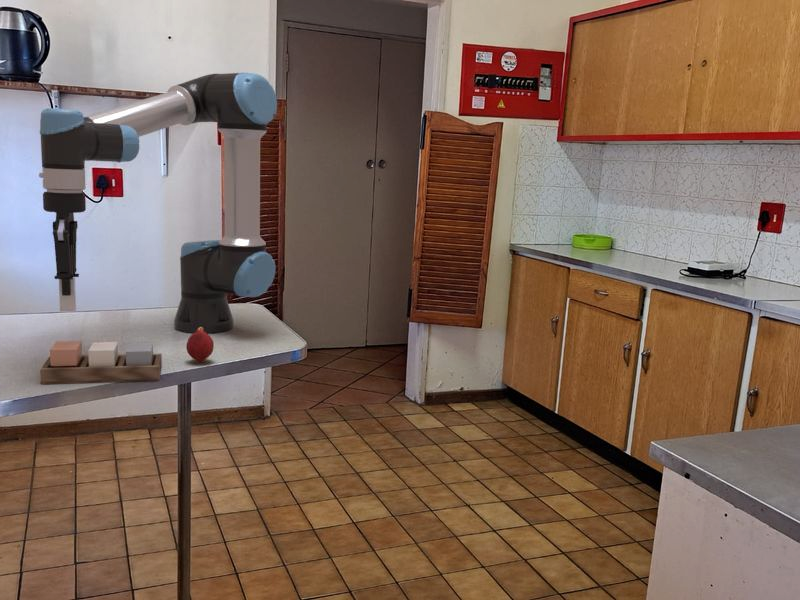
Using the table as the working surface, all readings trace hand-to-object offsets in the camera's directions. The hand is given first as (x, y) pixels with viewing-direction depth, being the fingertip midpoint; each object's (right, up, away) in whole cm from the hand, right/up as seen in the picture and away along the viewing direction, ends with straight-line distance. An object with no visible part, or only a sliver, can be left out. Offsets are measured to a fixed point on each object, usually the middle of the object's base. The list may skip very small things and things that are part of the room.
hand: (67, 310), depth 147 cm
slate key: (+12, -11, +6) cm, 17 cm away
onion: (+22, -12, +17) cm, 30 cm away
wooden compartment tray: (+5, -13, +4) cm, 15 cm away
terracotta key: (-1, -10, +2) cm, 11 cm away
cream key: (+6, -11, +4) cm, 13 cm away
